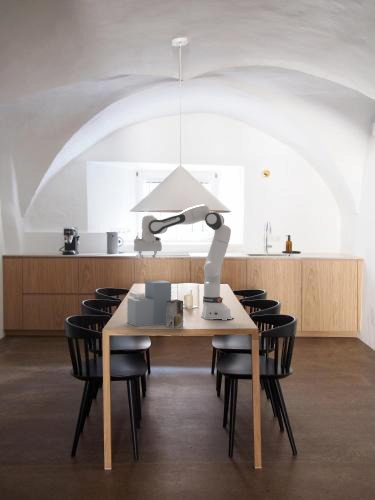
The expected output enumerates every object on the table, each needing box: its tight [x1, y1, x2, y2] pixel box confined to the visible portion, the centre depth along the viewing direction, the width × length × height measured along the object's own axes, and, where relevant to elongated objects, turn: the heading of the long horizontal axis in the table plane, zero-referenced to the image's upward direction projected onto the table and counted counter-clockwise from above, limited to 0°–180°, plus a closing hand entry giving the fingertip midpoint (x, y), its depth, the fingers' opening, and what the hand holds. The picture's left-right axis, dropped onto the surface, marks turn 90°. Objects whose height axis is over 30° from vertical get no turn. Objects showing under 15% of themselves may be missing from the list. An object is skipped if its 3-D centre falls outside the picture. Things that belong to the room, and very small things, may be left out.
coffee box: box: [165, 299, 184, 329], centre depth 299 cm, size 9×6×16 cm
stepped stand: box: [126, 279, 172, 327], centre depth 310 cm, size 14×24×26 cm, turn 118°
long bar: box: [129, 291, 145, 300], centre depth 312 cm, size 20×4×4 cm, turn 28°
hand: (147, 257), depth 345 cm, fingers open, 8 cm apart
